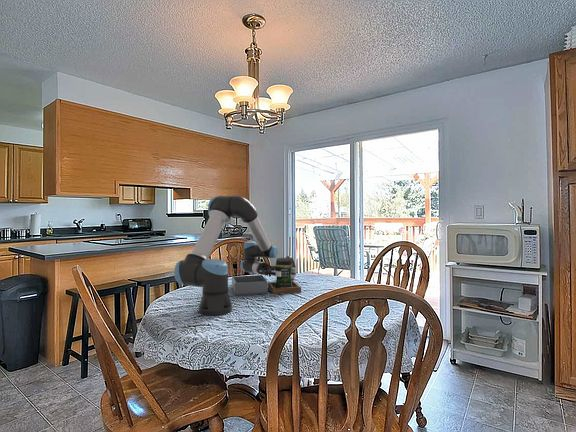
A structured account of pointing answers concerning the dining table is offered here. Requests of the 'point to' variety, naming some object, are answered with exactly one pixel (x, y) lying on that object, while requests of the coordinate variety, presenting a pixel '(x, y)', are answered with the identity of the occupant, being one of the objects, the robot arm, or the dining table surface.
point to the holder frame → (294, 289)
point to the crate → (249, 285)
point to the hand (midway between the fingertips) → (288, 272)
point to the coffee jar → (284, 272)
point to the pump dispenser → (292, 267)
